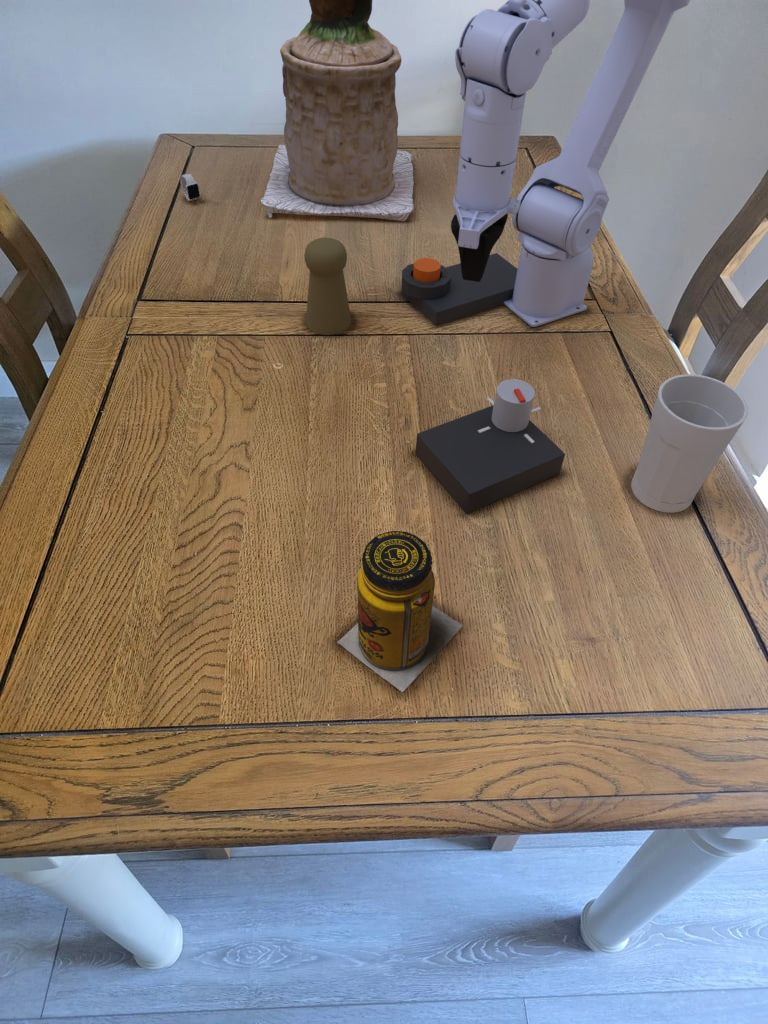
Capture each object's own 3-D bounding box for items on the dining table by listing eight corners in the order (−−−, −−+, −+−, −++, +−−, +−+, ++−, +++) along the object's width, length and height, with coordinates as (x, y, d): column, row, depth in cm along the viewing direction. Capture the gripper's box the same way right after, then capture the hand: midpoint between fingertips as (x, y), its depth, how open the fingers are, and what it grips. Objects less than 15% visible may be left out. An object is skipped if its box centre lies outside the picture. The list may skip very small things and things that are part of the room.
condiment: (336, 643, 61) (332, 557, 52) (399, 583, 65) (404, 494, 56) (402, 694, 58) (409, 612, 49) (462, 627, 62) (479, 541, 53)
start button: (430, 267, 96) (431, 255, 95) (444, 279, 94) (446, 267, 93) (407, 273, 95) (408, 261, 94) (421, 286, 93) (422, 274, 92)
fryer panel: (513, 408, 82) (517, 387, 80) (574, 467, 76) (581, 446, 74) (409, 447, 78) (411, 426, 75) (466, 514, 71) (469, 492, 69)
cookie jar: (415, 224, 112) (429, -25, 88) (260, 219, 112) (231, -31, 88) (413, 159, 128) (424, -65, 104) (277, 155, 128) (258, -70, 104)
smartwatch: (181, 196, 117) (176, 171, 114) (193, 193, 117) (189, 168, 114) (189, 205, 115) (185, 180, 112) (202, 202, 115) (198, 177, 112)
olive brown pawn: (345, 338, 91) (343, 258, 83) (300, 331, 92) (293, 252, 83) (356, 312, 95) (355, 234, 87) (312, 306, 96) (307, 228, 87)
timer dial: (486, 411, 77) (491, 379, 74) (520, 405, 78) (527, 374, 75) (498, 435, 75) (505, 403, 71) (534, 429, 75) (541, 397, 72)
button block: (493, 265, 104) (497, 240, 101) (532, 296, 99) (537, 269, 96) (392, 295, 98) (393, 268, 95) (427, 329, 93) (429, 302, 90)
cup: (702, 474, 76) (748, 384, 67) (699, 527, 71) (748, 438, 62) (627, 456, 77) (661, 366, 68) (619, 506, 72) (654, 417, 63)
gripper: (516, 191, 66) (496, 317, 76) (536, 134, 76) (515, 253, 86) (443, 180, 67) (432, 306, 77) (471, 125, 77) (458, 244, 87)
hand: (472, 277), depth 82 cm, fingers closed
